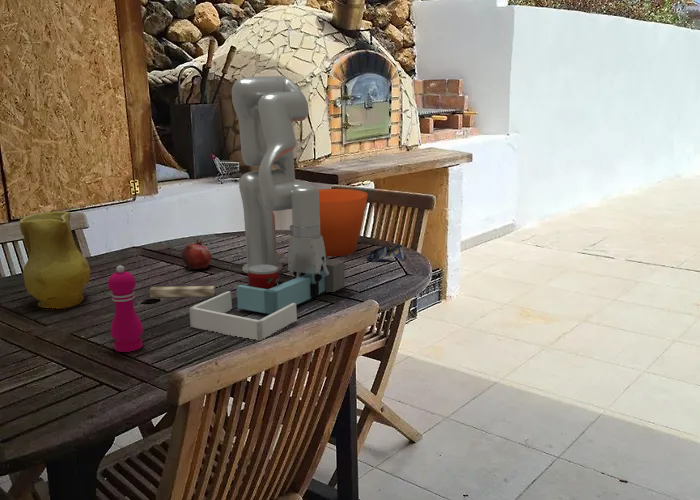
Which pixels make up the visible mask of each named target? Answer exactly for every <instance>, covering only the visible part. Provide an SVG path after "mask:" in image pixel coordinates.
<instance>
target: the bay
mask: <svg viewBox="0 0 700 500" xmlns="http://www.w3.org/2000/svg"><path fill="white" fill-rule="evenodd" d="M231 309H232V310H233V304H232V291H230V290H229V291H225V292H223V293H220V294H217V295H216V296H212V297H211V298H209V299H206V300H204V301H202V302H200V303H197V304H194V305H193V306H191V307H188V310H189V311H188V312H189V323H190V324H189V325H190V326H189V327H191V328H195V329H198V330H204V331H207V330H208V332H212V331H214V332H213V333H216V332H218V333H217V334H221V333H222V334H221V335H226V336H230V335H231V337H235V336H237V337H236V338H239V337H243V338H242V339H244V338H249V339H256V340H262V339H263V338H264V339H265V337H267V336H270V335H271V334H272V333H274V332H276V331H277V330H279V329H281V328H283V327H285V326H287V325H288V324H290V323H292V322H294V321H297V322H298V317H297V316H298V314H297V313H298V312H297V305H296V303H292V304H290V305H288V306H286V307H284V308H282V309H280V310H278V311H276V312H274V313H272V314H268V315H266V316H264V317H262V318H261V319H256V318H255V319H254V318H249V317H245V316H239V315H234V314H231V313H230V314H229V313H228V312H230V311H232V310H231Z"/></svg>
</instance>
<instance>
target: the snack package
mask: <svg viewBox="0 0 700 500" xmlns="http://www.w3.org/2000/svg"><path fill="white" fill-rule="evenodd" d="M403 249H404V248H403V244H397V245H395V246H394V247H391V248H389V247H387V245H381V246H379V247H377V248H376V249H373V250H372V251H369V254H368V257H366V262H367V261H371V262H373V261H374V262H379V261H381V260H382V261H388V260H390V259H383V258H382V257H385V256H389V257H396V258H399V259H402V258H403V260H404V259H405V257H404V256H405V254H404V251H403ZM382 261H381V262H382Z"/></svg>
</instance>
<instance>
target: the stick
mask: <svg viewBox="0 0 700 500" xmlns="http://www.w3.org/2000/svg"><path fill="white" fill-rule="evenodd" d="M215 288H216V287H215V285H201V286H200V285H193V286H191V285H190V286H186V285H185V286H151V288H150V289H149V297H150V298H186V297H187V298H188V297H189V298H191V297H194V298H199V297H200V298H201V297H215V294H216V289H215Z"/></svg>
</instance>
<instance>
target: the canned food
mask: <svg viewBox="0 0 700 500" xmlns="http://www.w3.org/2000/svg"><path fill="white" fill-rule="evenodd" d="M247 275H248V277H247V278H248V279H247V280H248V286H251V287H257V288H263V289H270V288H273V287H275V286H278V285H279V272H278V268H277V267H276V266H273V265H255V266H251V267H249V268H248V274H247Z"/></svg>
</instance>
